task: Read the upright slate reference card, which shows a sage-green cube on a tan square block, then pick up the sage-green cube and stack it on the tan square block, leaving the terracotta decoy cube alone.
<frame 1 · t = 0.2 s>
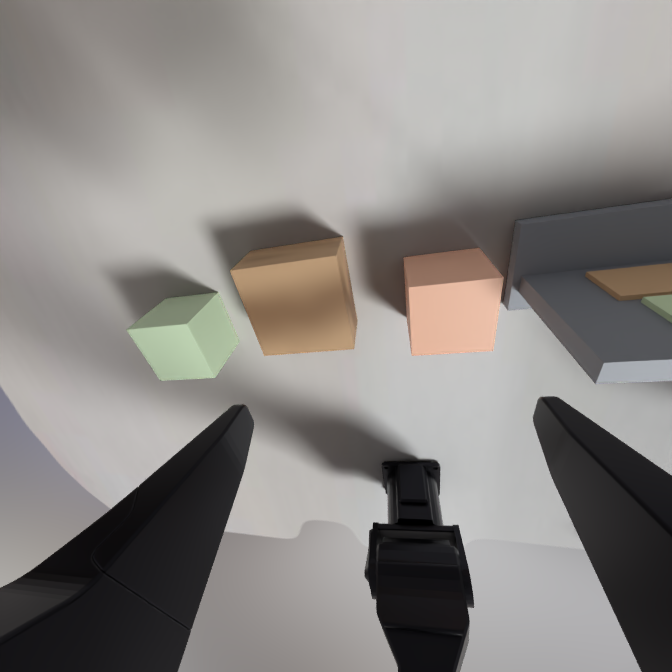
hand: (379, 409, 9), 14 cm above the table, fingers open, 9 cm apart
sage block: (204, 320, 27), on the table
reference card: (619, 252, 19), on the table
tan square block: (307, 286, 24), on the table
terracotta decoy: (439, 285, 22), on the table
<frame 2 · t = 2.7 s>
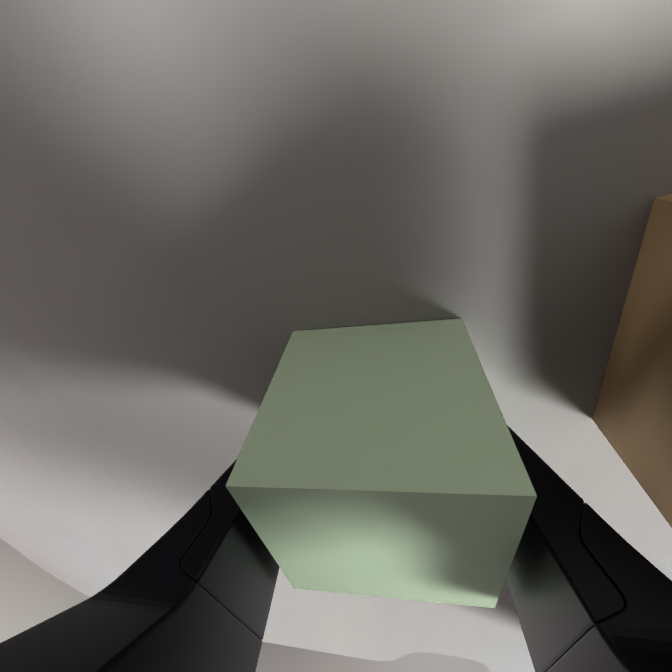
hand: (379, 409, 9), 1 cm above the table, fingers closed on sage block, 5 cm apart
sage block: (379, 386, 10), on the table, touching gripper
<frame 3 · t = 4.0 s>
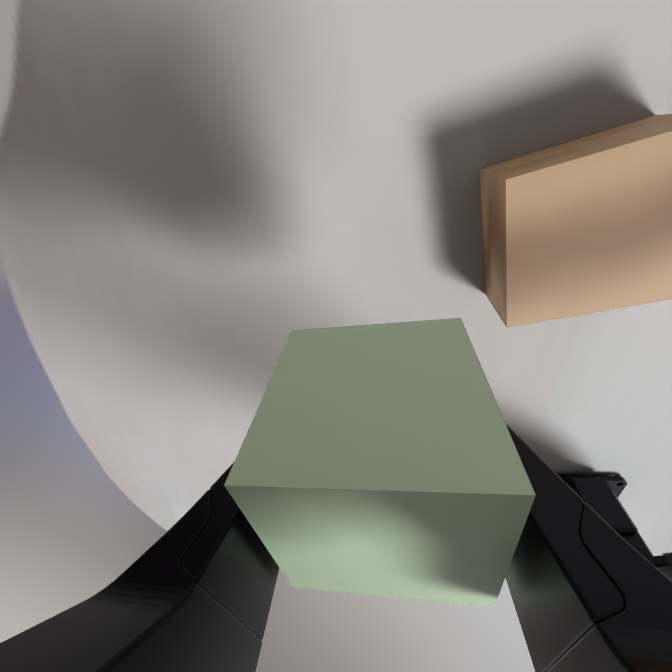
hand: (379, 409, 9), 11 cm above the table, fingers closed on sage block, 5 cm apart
sage block: (379, 385, 10), point 10 cm above the table, touching gripper
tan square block: (553, 219, 16), on the table
when the fingers open (6 cm above the table, at t = 5.8 s): sage block drops 1 cm, resting on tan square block.
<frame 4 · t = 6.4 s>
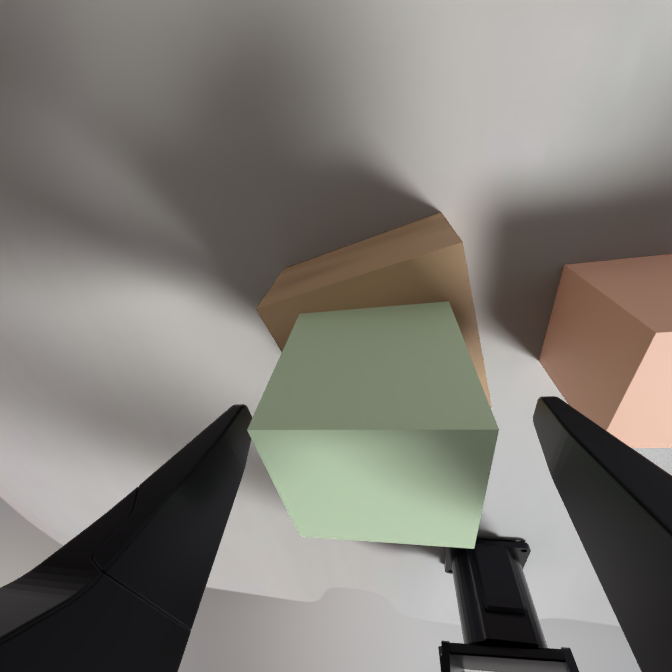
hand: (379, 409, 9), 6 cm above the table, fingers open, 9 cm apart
sage block: (377, 365, 11), point 4 cm above the table, touching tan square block
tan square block: (380, 308, 15), on the table, touching sage block
terracotta decoy: (613, 312, 13), on the table
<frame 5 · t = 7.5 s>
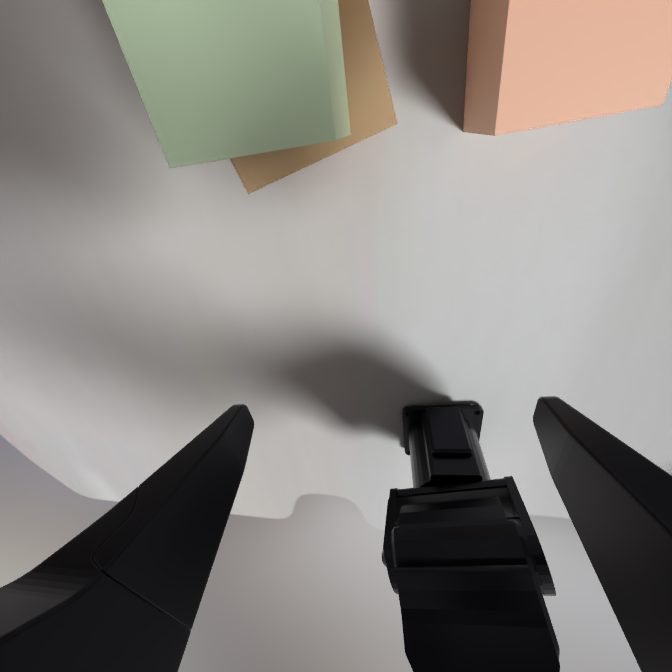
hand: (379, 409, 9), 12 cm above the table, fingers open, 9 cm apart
sage block: (275, 65, 11), point 4 cm above the table, touching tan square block
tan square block: (300, 73, 14), on the table, touching sage block
terracotta decoy: (529, 49, 13), on the table
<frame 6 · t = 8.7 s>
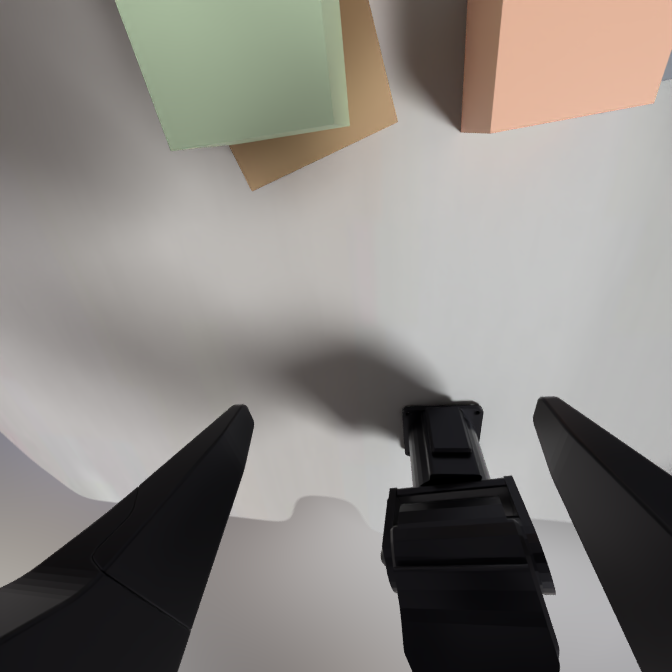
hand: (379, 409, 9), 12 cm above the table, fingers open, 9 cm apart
sage block: (277, 56, 11), point 4 cm above the table, touching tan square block
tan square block: (303, 75, 15), on the table, touching sage block
terracotta decoy: (524, 52, 13), on the table
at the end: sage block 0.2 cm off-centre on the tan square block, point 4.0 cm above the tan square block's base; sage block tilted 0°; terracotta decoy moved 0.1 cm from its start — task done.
